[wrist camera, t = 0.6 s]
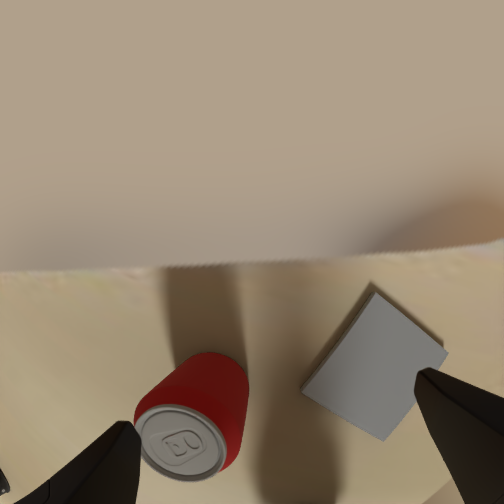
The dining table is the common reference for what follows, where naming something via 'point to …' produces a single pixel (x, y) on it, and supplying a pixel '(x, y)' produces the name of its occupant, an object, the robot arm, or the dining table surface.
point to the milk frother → (3, 484)
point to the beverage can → (194, 418)
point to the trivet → (374, 368)
